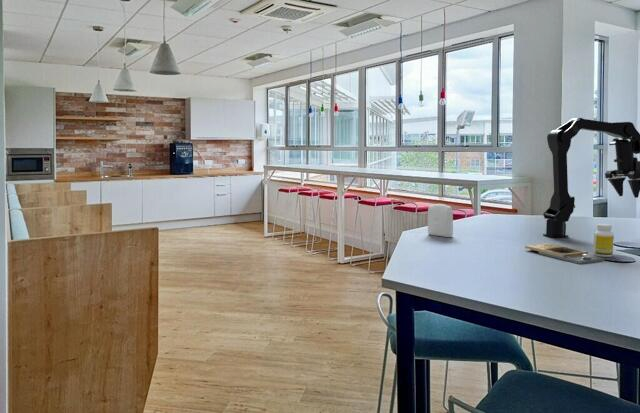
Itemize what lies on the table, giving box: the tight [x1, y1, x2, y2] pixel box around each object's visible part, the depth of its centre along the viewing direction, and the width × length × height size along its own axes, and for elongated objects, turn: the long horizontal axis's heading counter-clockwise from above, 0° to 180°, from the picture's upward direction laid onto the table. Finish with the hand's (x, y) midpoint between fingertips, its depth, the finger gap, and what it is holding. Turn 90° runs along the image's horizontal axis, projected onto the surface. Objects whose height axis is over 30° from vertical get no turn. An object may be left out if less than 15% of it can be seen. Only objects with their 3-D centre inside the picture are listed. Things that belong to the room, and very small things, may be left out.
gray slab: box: [524, 242, 606, 265], centre depth 167 cm, size 22×10×2 cm, turn 22°
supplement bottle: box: [592, 223, 615, 258], centre depth 165 cm, size 5×5×10 cm
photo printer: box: [427, 203, 454, 238], centre depth 205 cm, size 10×4×12 cm, turn 39°
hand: (628, 196), depth 200 cm, fingers open, 9 cm apart
